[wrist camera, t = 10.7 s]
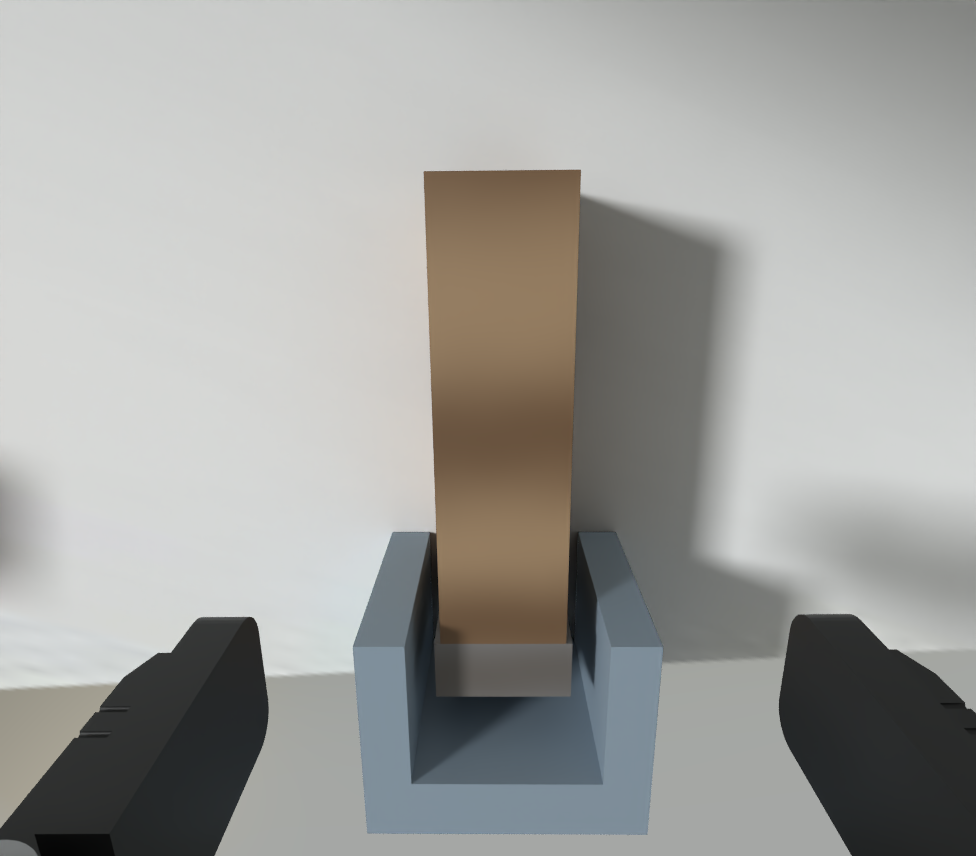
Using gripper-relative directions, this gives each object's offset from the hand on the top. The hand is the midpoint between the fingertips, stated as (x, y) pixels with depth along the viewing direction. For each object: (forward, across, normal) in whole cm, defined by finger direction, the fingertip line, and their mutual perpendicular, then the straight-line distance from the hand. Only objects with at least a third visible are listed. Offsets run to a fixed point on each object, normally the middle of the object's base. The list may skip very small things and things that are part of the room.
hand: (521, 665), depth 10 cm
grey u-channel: (+15, 0, +9) cm, 17 cm away
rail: (+15, 0, 0) cm, 15 cm away
